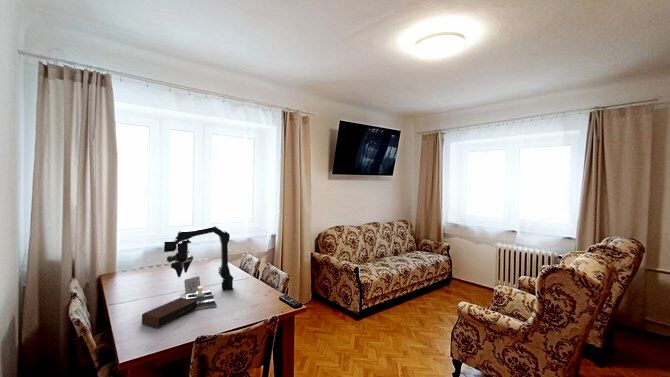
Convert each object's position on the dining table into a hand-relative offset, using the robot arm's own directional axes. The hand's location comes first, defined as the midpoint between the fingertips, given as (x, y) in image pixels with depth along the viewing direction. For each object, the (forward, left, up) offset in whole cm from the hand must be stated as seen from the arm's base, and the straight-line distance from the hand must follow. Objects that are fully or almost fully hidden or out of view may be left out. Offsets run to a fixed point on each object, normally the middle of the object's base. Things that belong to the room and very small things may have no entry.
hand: (182, 274), depth 180 cm
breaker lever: (-10, +11, -12) cm, 19 cm away
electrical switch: (-6, -7, -14) cm, 17 cm away
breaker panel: (-10, +11, -14) cm, 20 cm away
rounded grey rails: (-11, +23, -14) cm, 29 cm away
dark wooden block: (+5, +28, -15) cm, 32 cm away
